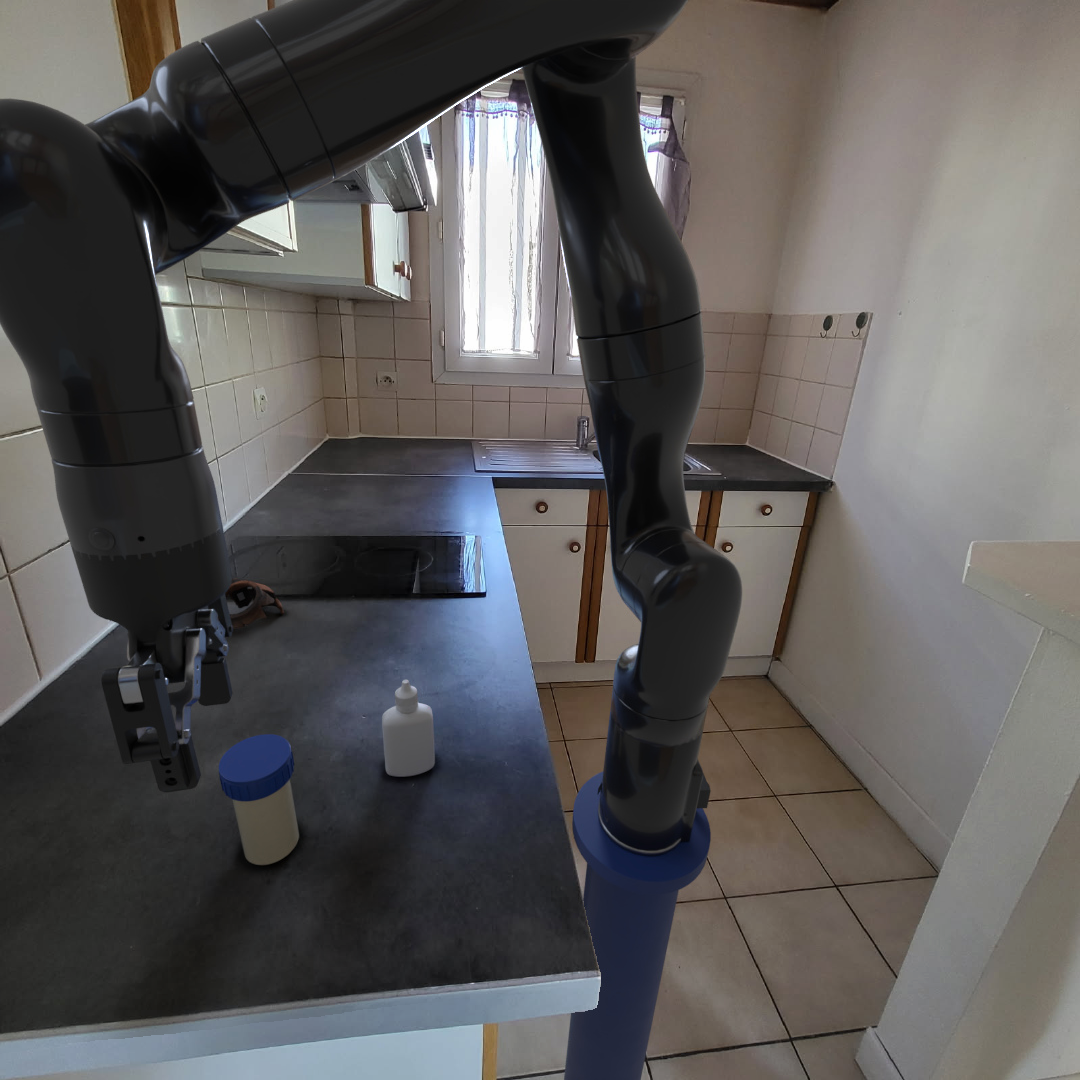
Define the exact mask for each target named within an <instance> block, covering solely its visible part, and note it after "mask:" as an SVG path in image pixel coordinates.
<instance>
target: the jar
mask: <svg viewBox="0 0 1080 1080" xmlns="http://www.w3.org/2000/svg"><path fill="white" fill-rule="evenodd" d="M231 801H232V806H233V811H234V814H235V815H234V816H235V820H236V825H237V829H238V831H239V832H238V833H239V837H240V842H241V847H242V850H243V851H242V852H243V855H244V857H245V859H246V861H248V862H249V863H251V864H253V865H256V866H268V865H271V864H275V863H277V862H279V861H281V860H282V859H284V858H285V857H288V855H289V854H290V853H292V851H293V850H294V849H295V847H296V846H297V845H298V841H299V839H300V830H299V825H298V819H297V818H298V817H297V813H296V807H295V806H296V805H295V801H294V795H293V788H292V783H291V778H290V779H289V781H288V782H287V783H286V784H285V785H284V786H283V787H282V788H281V789H279V790H278V791H277V792H275V793H273V794H271V795H270V796H267V797H265V798H262V799H259V800H255V801H246V802H245V801H236V800H233V799H231Z"/></svg>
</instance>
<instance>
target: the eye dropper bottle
mask: <svg viewBox="0 0 1080 1080" xmlns="http://www.w3.org/2000/svg"><path fill="white" fill-rule="evenodd" d="M394 700H395V701H394V702H395V705H394V706H392V707H390V708H389V709H386V711H384V712H383V713H382V717H381V726H382V740H383V741H382V742H383V755H384V767H385V772H386V774H387V775H389V776H390V777H391V776H392V777H398V778H401V777H403V778H404V777H412V776H417V775H421V774H423V773H425V772H428V771H430V770H431V769H433V768H434V766H435V764H436V756H435V755H436V752H435V732H434V731H435V729H434V715H433V710H432V708H431V706H430V705H427V704H425V703H421V702H419V696H418V690H417V688H416V687H415V686H414V685H411V684H410V681H409V680H408V679H403V680H402V682H401V686H400V687H398V688H397V689H396V690H395V692H394Z"/></svg>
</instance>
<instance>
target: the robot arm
mask: <svg viewBox="0 0 1080 1080" xmlns="http://www.w3.org/2000/svg"><path fill="white" fill-rule="evenodd" d="M689 1H690V0H289V1H288V2H285V3H283V4H280V5H277V6H275V7H273V8H270V9H267V10H266V11H262V12H261V13H258V14H256V15H253V16H252V17H248V18H246V19H243V20H241V21H238V22H236V23H234V24H232V25H230V26H227V27H225V28H223V29H221V30H218V31H215V32H214V33H212V34H211V33H210V34H209V35H205V36H204V37H202V38H200V41H199V40H194V41H192V42H191V43H188V44H186V45H184V46H182V47H180V48H178V49H177V50H175V51H174V52H171V53H169V55H167V56H166V57H165V58H163V59H162V60H161V61H159V63H158V64H157V65H156V66H155V68H154V70H153V72H152V74H151V78H150V83H149V88H148V89H147V90H145V92H144V93H143V94H142V95H140V96H138V97H136V98H135V99H133V100H131V101H128V102H126V103H125V104H123V105H121V106H119V107H117V108H115V109H112V110H111V111H109V112H108V113H106V114H104V115H102V116H100V117H98V118H96V119H95V120H92V121H90V122H88V123H86V124H84V123H83V122H82V121H80V120H78V119H77V118H75V117H73V116H71V115H70V114H67V113H65V112H63V111H60V110H59V109H56V108H53V107H51V106H48V105H45V104H42V103H40V102H39V103H38V102H35V101H31V100H25V99H18V98H0V327H1V328H2V330H3V333H4V334H5V336H6V338H7V340H8V341H9V342H10V344H11V345H12V346H11V347H13V349H14V350H15V352H16V354H17V355H18V357H19V359H20V360H21V362H22V364H23V366H24V368H25V371H26V373H27V376H28V379H29V384H30V389H31V395H32V399H33V402H34V405H35V407H36V412H37V415H38V418H39V422H40V424H41V428H42V433H43V436H44V438H45V442H46V444H47V448H48V453H49V455H50V458H51V464H52V468H53V469H52V470H53V475H54V484H55V493H56V500H57V503H58V507H59V511H60V514H61V518H62V520H63V523H64V527H65V530H66V534H67V537H68V540H69V545H70V548H71V550H72V551H71V552H72V554H73V558H74V561H75V564H76V567H77V570H78V574H79V577H80V581H81V583H82V587H83V590H84V591H83V592H84V594H85V598H86V600H87V603H88V606H89V609H90V610H91V611H92V612H93V614H95V615H96V616H98V617H100V618H102V619H104V620H107V621H110V622H113V623H116V624H118V625H120V626H122V627H123V628H125V629H126V630H127V645H126V659H127V660H128V662H127V663H126V664H125V665H124V666H115V667H107V668H105V669H104V670H103V672H102V675H101V687H102V690H103V695H104V698H105V702H106V705H107V709H108V713H109V714H108V715H109V717H110V721H111V725H112V729H113V733H114V736H115V740H116V744H117V747H118V751H119V755H120V759H121V762H122V763H123V765H129V764H130V765H131V764H136V763H144V762H150V764H151V768H152V772H153V775H154V778H155V781H156V786H157V788H158V790H159V791H160V792H162V793H174V792H181V791H187V790H193V789H195V788H196V787H198V784H199V782H200V780H201V776H202V773H201V769H200V765H199V761H198V757H197V752H196V748H195V745H194V740H193V736H192V730H191V721H192V720H191V719H192V706H193V705H194V704H195V703H197V702H198V703H199V705H201V706H203V707H210V706H218V705H225V704H228V703H230V701H231V699H232V696H233V694H234V693H233V687H232V683H231V678H230V674H229V669H228V664H227V659H226V657H227V656H228V653H229V651H230V646H229V644H228V641H227V639H226V638H229V637H232V634H233V632H234V629H233V626H232V623H231V619H230V614H231V613H230V610H229V606H228V601H227V597H226V596H225V593H226V592H227V590H228V589H229V587H230V585H231V582H232V578H233V574H232V573H233V572H232V568H231V563H230V558H229V552H228V546H227V542H226V536H225V531H224V526H223V520H222V516H221V510H220V505H219V500H218V493H217V488H216V485H215V481H214V476H213V474H212V471H211V469H210V466H209V462H208V459H207V457H206V454H205V449H204V446H203V441H202V436H201V435H202V434H201V431H200V425H199V420H198V414H197V409H196V404H195V400H194V399H195V397H194V394H193V389H192V385H191V382H190V378H189V375H188V371H187V369H186V366H185V364H184V361H183V360H182V358H181V357H180V355H179V354H178V353H177V352H176V351H175V350H174V347H172V345H171V343H170V339H169V335H168V331H167V330H168V329H167V326H166V325H167V324H166V320H165V314H164V309H163V305H162V301H161V296H160V293H159V292H160V291H159V286H158V283H157V279H156V278H157V277H156V276H157V275H159V274H161V273H163V272H164V271H167V270H168V269H171V268H172V267H173V266H176V265H177V264H179V263H181V262H182V261H185V259H187V258H189V257H191V256H193V255H194V254H195V253H198V252H199V251H201V250H203V248H205V247H206V246H208V245H209V244H211V243H213V242H214V241H216V240H218V239H219V238H221V237H222V236H224V235H226V234H227V233H229V232H230V231H231V230H233V229H234V228H236V227H237V226H238V225H240V224H241V223H243V222H245V221H247V220H249V219H250V220H251V219H252V218H254V217H256V216H259V215H262V214H264V213H267V212H270V211H273V210H276V209H278V208H281V207H283V206H285V205H288V204H290V201H291V202H294V201H296V200H298V199H300V198H302V197H304V196H306V195H308V194H311V193H312V192H315V191H316V190H319V189H320V188H321V189H322V188H323V187H325V186H327V185H329V184H331V183H333V182H334V181H336V180H339V179H341V178H343V177H345V176H347V175H348V174H351V173H352V172H354V171H356V170H358V169H359V168H361V167H363V166H365V165H367V164H369V163H370V162H371V161H373V160H376V159H377V158H378V157H380V156H382V155H383V154H384V153H386V152H388V151H390V150H391V149H393V148H394V147H396V146H397V145H399V144H401V143H402V142H404V141H405V140H406V139H408V138H409V137H411V136H413V135H414V134H416V133H417V132H418V131H420V130H421V129H423V128H424V127H425V126H427V125H429V124H430V123H431V122H433V121H434V120H435V119H437V118H438V117H440V116H442V115H443V114H445V113H446V112H448V111H449V110H451V109H452V108H453V107H455V106H456V105H458V104H459V103H461V102H462V101H464V100H466V99H468V98H469V97H471V96H473V95H474V94H476V93H477V92H479V91H481V90H482V89H484V88H485V87H487V86H489V85H491V84H493V83H495V82H497V81H499V80H500V79H502V78H504V77H507V76H508V75H510V74H512V73H514V72H517V71H518V70H520V69H521V72H522V75H523V79H524V82H525V86H526V90H527V93H528V98H529V101H530V105H531V109H532V112H533V117H534V120H535V124H536V128H537V131H538V135H539V139H540V143H541V146H542V150H543V154H544V158H545V163H546V167H547V170H548V175H549V179H550V184H551V185H550V186H551V189H552V195H553V201H554V206H555V212H556V220H557V226H558V232H559V238H560V245H561V250H562V251H561V252H562V257H563V262H564V269H565V273H566V278H567V284H568V289H569V290H568V291H569V295H570V301H571V309H572V310H571V311H572V317H573V324H574V331H575V336H576V343H577V348H578V355H579V360H580V361H579V362H580V366H581V372H582V377H583V382H584V385H585V391H586V394H587V395H586V396H587V399H588V404H589V409H590V415H591V420H592V426H593V431H594V436H595V442H596V447H597V452H598V456H599V460H600V465H601V469H602V474H603V478H604V483H605V484H604V485H605V491H606V499H607V500H606V501H607V511H608V525H609V528H608V529H609V543H610V544H609V545H610V563H611V573H612V578H613V583H614V586H615V589H616V592H617V593H618V594H619V597H620V598H621V600H622V602H623V604H625V605H626V607H627V608H628V609H629V611H631V612H632V614H633V615H634V616H635V617H636V618H637V620H638V621H639V622H640V632H639V639H638V643H635V644H633V645H630V646H629V647H627V648H625V649H624V650H622V652H621V653H620V654H619V655H618V657H617V659H616V662H615V665H614V673H613V681H612V691H611V698H610V699H611V701H610V710H609V719H608V727H607V734H606V743H605V753H604V761H603V771H602V772H603V778H602V783H601V784H600V786H599V788H598V794H599V792H600V791H601V794H600V801H599V806H598V818H599V822H600V825H601V827H602V829H603V831H604V833H605V834H606V835H607V836H608V838H609V839H610V840H611V841H612V842H613V843H615V844H616V845H617V846H619V847H620V848H622V849H624V850H626V851H628V852H630V853H633V854H637V855H641V856H659V855H663V854H666V853H668V852H670V851H672V850H673V849H675V848H676V847H677V846H678V845H679V844H680V843H682V842H689V841H690V838H691V833H692V828H693V823H694V818H695V813H696V808H703V809H708V806H709V801H710V796H711V792H712V791H711V786H710V783H708V781H707V779H706V776H705V773H704V770H703V768H702V765H701V762H700V761H699V753H700V748H701V743H702V739H703V734H704V728H705V723H706V718H707V712H708V708H709V703H710V700H711V699H710V697H711V694H712V692H713V691H714V689H715V688H716V687H717V685H718V684H719V682H720V681H721V679H722V677H723V675H724V673H725V670H726V666H727V663H728V659H729V656H730V651H731V648H732V644H733V641H734V636H735V633H736V629H737V626H738V622H739V617H740V615H741V614H740V613H741V608H742V601H743V581H742V578H741V575H740V572H739V570H738V568H737V567H736V565H735V564H734V563H733V562H732V561H731V560H730V558H728V557H727V556H725V555H724V554H723V553H721V552H720V551H719V550H718V549H716V548H714V547H713V546H711V545H710V544H709V543H707V542H706V541H705V540H703V539H702V538H700V537H699V536H697V534H696V533H695V531H694V529H693V527H692V523H691V518H690V515H689V509H688V503H687V497H686V496H687V495H686V489H685V479H684V478H685V477H684V465H685V464H684V463H685V456H686V455H685V454H686V451H687V447H688V445H689V441H690V438H691V435H692V432H693V429H694V426H695V423H696V420H697V417H698V414H699V411H700V407H701V404H702V400H703V396H704V390H705V385H706V354H705V353H706V349H705V347H706V346H705V337H704V336H705V335H704V325H703V312H702V302H701V301H702V300H701V295H700V288H699V282H698V278H697V276H696V273H695V270H694V268H693V265H692V263H691V259H690V258H689V255H688V253H687V250H686V249H685V246H684V244H683V242H682V239H681V238H680V236H679V234H678V232H677V230H676V228H675V226H674V224H673V222H672V220H671V218H670V216H669V215H668V213H667V211H666V208H665V206H664V205H663V203H662V201H661V199H660V196H659V194H658V192H657V190H656V188H655V186H654V183H653V181H652V177H651V174H650V171H649V167H648V164H647V160H646V156H645V151H644V144H643V139H642V132H641V130H642V129H641V123H640V122H641V121H640V112H639V103H638V92H637V89H638V88H637V75H636V74H637V67H636V65H637V63H636V59H637V58H636V57H637V56H638V55H640V54H641V53H643V51H645V50H646V49H648V48H649V47H651V46H652V45H653V44H654V43H656V42H657V41H658V40H659V39H660V38H661V36H662V35H664V33H666V32H667V30H668V29H669V28H670V27H671V26H672V25H673V24H674V23H675V22H676V20H677V19H678V18H679V16H680V14H682V12H683V10H684V9H685V7H686V5H688V2H689ZM183 682H184V684H183V686H182V688H181V689H179V690H178V691H173V692H169V691H168V685H169V684H177V683H183ZM172 707H174V714H173V710H172V709H173V708H172Z"/></svg>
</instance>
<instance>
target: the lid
mask: <svg viewBox="0 0 1080 1080" xmlns="http://www.w3.org/2000/svg"><path fill="white" fill-rule="evenodd" d="M293 753H294V752H293V751H292V747H291V744H290V742H289V741H288V740H287V739H286V738H285V737H283V736H281V735H278V734H272V733H268V734H267V733H266V734H258V735H253V736H250V737H247V738H244V739H242V740H241V741H239V742H236V744H234V745H232V746H231V747H230V748H229V749H227V750H226V752H224V754H223V755H222V757H221V758H220V759H219V763H218V775H219V782H220V785H221V790H222V792H224V794H225V796H226V797H227V798H229V799H231V800H232V799H233V800H236V801H245V802H246V801H255V800H259V799H262V798H265V797H267V796H270V795H271V794H273V793H275V792H277V791H278V790H279V789H281V788H282V787H283V786H284V785H285V784H286V783H287V782H288V781H289V779H290V780H291V778H292V776H293V773H294V771H295V769H294V768H295V767H294V766H295V759H294V754H293Z"/></svg>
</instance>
